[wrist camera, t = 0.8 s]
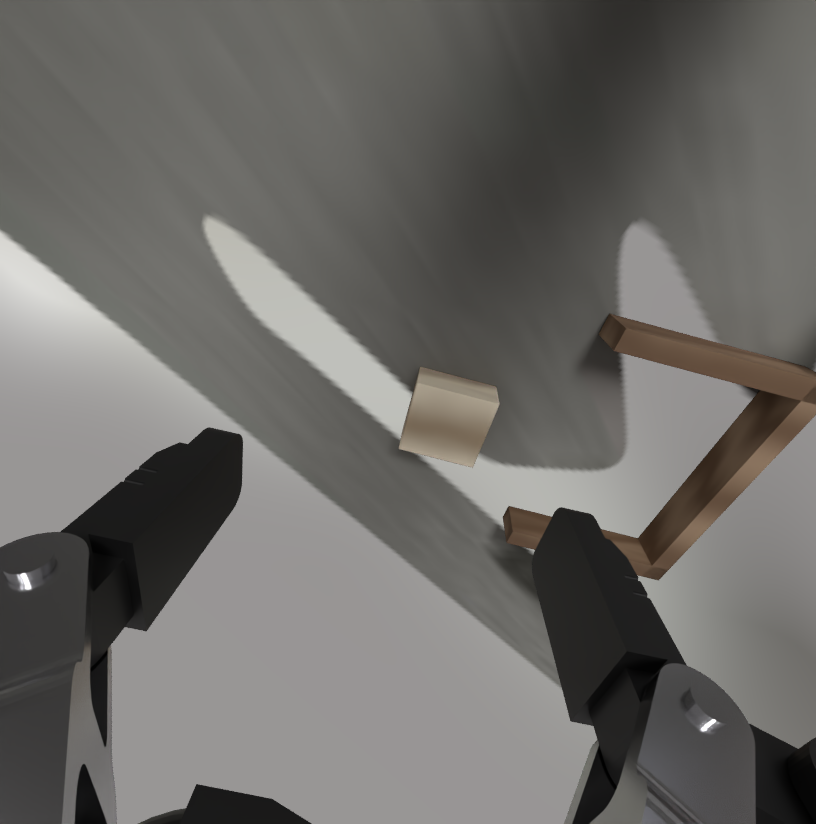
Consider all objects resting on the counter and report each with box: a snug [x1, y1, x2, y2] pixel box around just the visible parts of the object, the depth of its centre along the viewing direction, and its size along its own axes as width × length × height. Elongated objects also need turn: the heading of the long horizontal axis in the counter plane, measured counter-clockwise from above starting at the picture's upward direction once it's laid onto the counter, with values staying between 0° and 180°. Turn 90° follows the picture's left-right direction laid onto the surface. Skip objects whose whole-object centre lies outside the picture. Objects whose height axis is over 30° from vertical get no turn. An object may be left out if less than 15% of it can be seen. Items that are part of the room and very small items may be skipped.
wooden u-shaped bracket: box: [503, 314, 816, 580], centre depth 30 cm, size 20×14×3 cm
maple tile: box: [399, 367, 500, 468], centre depth 30 cm, size 6×6×3 cm
